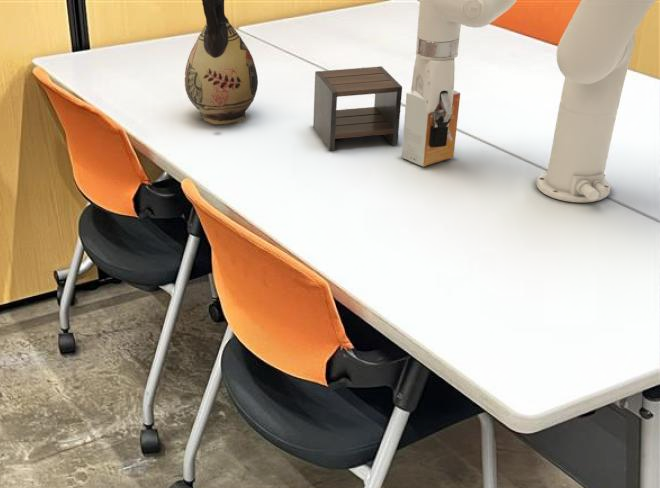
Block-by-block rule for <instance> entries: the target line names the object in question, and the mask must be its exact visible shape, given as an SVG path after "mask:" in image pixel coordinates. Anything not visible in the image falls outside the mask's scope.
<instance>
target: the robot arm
mask: <svg viewBox="0 0 660 488" xmlns="http://www.w3.org/2000/svg"><path fill="white" fill-rule="evenodd" d="M517 1H518V0H419V7H418V17H417V18H418V20H417V21H418V22H417V34H416V47H415V60H414V65H413V72H412V79H411V89H410V92H412V91H416V92H417V93H419V94H420V95H421V96H422V97H423V98H424V99H425V100H426V105H425V112H426V113H428V114H430V113H431V112H433V116H432V122H433V126H431V130H430V141H429V146H430V147H431V148H432V147H442V146H446V144H447V134H448V127H449V122H450V120H451V119H450V118H451V115H452V102H453V93H454V91H455V67H456V66H455V59H456V58H457V57H458V55H459V48H460V47H459V45H460V35H461V26H465V27H468V28H474V29H475V28H483V27H487V26H488V25H490V24H491V23H493V22H494V21H495V20H497V19H498V18H499V17H501V16H502V15H503V14H505V13H506V12H508V11H509V10H510V9H511V8H512V7H513V6H514V5H515V3H516V2H517ZM656 1H657V0H580V2H579V4H578V6H577V7H576V9H575V12H574V13H573V15H572V17H571V19H570V20H569V22H568V25H567V26H566V28H565V30H564V32H563V34H562V35H561V37H560V40H559V42H558V44H557V49H556V63H557V67H558V70H559V71H560V73H561V74H562V76H564V81H563V84H562V89H561V96H560V101H559V104H558V105H559V106H558V111H557V117H556V122H555V126H554V127H555V128H554V133H553V139H552V144H551V150H550V156H549V162H548V168H547V171H544V172H542V173H541V174H539V175H538V176H537V178H536V187H537V189H538V190H539V191H540V192H541V193H542V194H543V195H545V196H548V197H550V198H552V199H556V200H559V201H564V202H569V203H593V202H598V201H601V200H604V199H605V198H607V197H609V195H610V191H611V184H610V182H609V181H608V180H607V179H606V174H605V171H606V166H607V161H608V156H609V151H610V148H611V142H612V138H613V133H614V130H615V129H614V128H615V123H616V119H617V115H618V110H619V106H620V103H621V97H622V93H623V88H624V84H625V80H626V77H627V73H628V70H629V66H630V63H631V59H632V56H633V52H634V47H635V42H636V31H637V30H638V28H639V26H640V24H641V23H642V21H643V20H644V17H645V16H646V14H647V13H648V12H649V10H650V8H651V7H652V6H653V5H654V4H655V3H656ZM439 100H440V103H441V106H442V109H441V110H435V109H436V107H437V105H438V103H439ZM427 101H428V103H427ZM437 114H442V116H440V117H439V119H438V120H437Z"/></svg>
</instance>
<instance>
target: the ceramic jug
mask: <svg viewBox="0 0 660 488" xmlns="http://www.w3.org/2000/svg"><path fill="white" fill-rule="evenodd" d="M201 4H202V7H203V9H202V10H203V13H204V16H205V25H204V27H203V28H202V30H201V32H200V33H199V35H198V36H197V39H196V41H195V43H194V45H193V47H192V48H191V51H190V53H189V55H188V58H187V61H186V65H185V70H184V88H185V92H186V95H187V97H188V99H189V101H190V102H191V104H192V105H193V106H194V107H195V108H196V109H197V111H199V113H200V115H201V117H202V119H203V121H205V122H207V123H209V124H213V125H215V126H217V125H223V124H224V125H225V124H232V123H238V122H242V121H243V120H244V119H245V118H246V117H247V114H246V111H247V110H248V109H249V107H250V106H251V105H252V103H253V101H254V100H255V97H256V95H257V91H258V85H259V78H258V72H257V68H256V65H255V60H254V58H253V55H252V53H251V51H250V50H249V48H248V46H247V45H246V43H245V42H244V41H243V39H242V37H241V35H239V33H238V31H237V30H236V29H235V28H234V27H233V25H232V24H231V23H230V21H229V18H227V16H226V14H225V0H201Z"/></svg>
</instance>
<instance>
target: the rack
mask: <svg viewBox="0 0 660 488" xmlns="http://www.w3.org/2000/svg"><path fill="white" fill-rule="evenodd" d="M314 72H315V73H314V93H313V94H314V96H313V123H312V127H313V130H314V131H315V133H316V135H318V137H319V138H320V139H321V141H322V143H323V144H324V145H325V146H326V148H327V150H328V151H329V152H335V148H336V147H335V146H336V139H349V138H357V137H369V136H371V137H372V136H381V135H383V136H384V137H385V139H386V140H387V141H388V142H389V143H390V144H391V145H392V146H398V144H399V143H398V141H399V132H400V131H399V129H400V119H401V107H402V95H403V86H402V85H401V83H399V81H397V80H396V79H395V78H394V77H393V76H392V75H391V74H390V73H389V72H388V70H386V69H385V68H384V67H383V66H369V67H357V68H344V69H331V70H317V71H314ZM365 95H374V105H373V106H368V107H357V108H343V109H337V108H338V107H337V105H338V98H340V97H353V96H365Z"/></svg>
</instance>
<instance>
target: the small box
mask: <svg viewBox="0 0 660 488" xmlns="http://www.w3.org/2000/svg"><path fill="white" fill-rule="evenodd" d="M460 101H461V92H460V91H457V90H454V93H453V102H452V115H451V118H450V119H451V120H450V122H449V127H448V134H447V144H446V146H442V147H432V148H431V147H430V146H429V141H430V130H431V126H433V122H432V116H433V112H431V113H430V114H428V113H426V112H425V105H426V100H425V99H424V98H423V97H422V96H421V95H420V94H419V93H417V92H416V91H412V92H411V91H408V92H406V95H405V109H404V123H403V135H402V149H401V158H403V159H404V160H407V161H409V162H411V163H413V164H415V165H418V166H421V167H427V166H430V165H432V164H436V163H439V162H443V161H446V160H449V159H453V158H454V157H455V156H454V155H455V148H456V147H455V146H456V137H457V130H458V129H457V127H458V119H459V110H460ZM427 103H428V101H427ZM441 109H442V106H441V103H440V100H439V103H438V105H437V107H436V109H435V110H441ZM440 116H442V114H437V120H438V119H439V117H440Z"/></svg>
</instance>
